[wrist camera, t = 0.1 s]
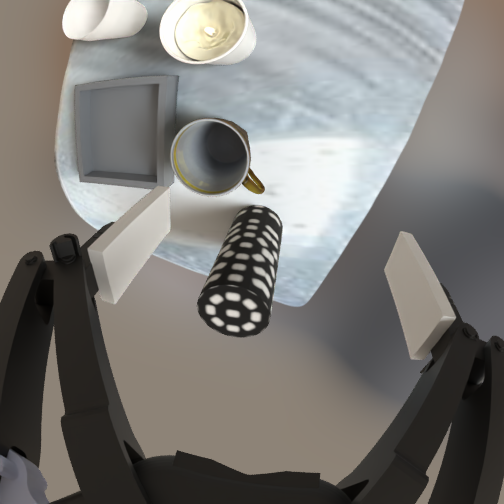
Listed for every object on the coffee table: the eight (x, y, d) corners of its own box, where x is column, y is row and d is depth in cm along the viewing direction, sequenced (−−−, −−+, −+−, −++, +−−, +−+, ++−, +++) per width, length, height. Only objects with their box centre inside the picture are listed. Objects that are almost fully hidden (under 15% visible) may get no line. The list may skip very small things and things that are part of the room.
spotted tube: (284, 208, 44) (273, 290, 28) (280, 251, 49) (266, 341, 32) (233, 202, 45) (193, 279, 29) (233, 245, 50) (200, 330, 33)
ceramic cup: (185, 149, 41) (157, 167, 33) (219, 98, 36) (196, 102, 28) (250, 196, 44) (238, 225, 36) (290, 149, 39) (288, 167, 31)
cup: (114, 52, 33) (66, 52, 23) (105, 13, 28) (58, 6, 18) (159, 29, 30) (115, 17, 20) (149, -11, 26) (106, -29, 16)
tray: (89, 83, 36) (75, 85, 32) (178, 75, 35) (167, 75, 31) (92, 174, 46) (79, 181, 43) (174, 182, 45) (164, 190, 41)
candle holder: (191, 19, 29) (155, 1, 19) (257, 7, 27) (241, -22, 17) (199, 75, 34) (164, 73, 24) (266, 65, 32) (253, 55, 23)
